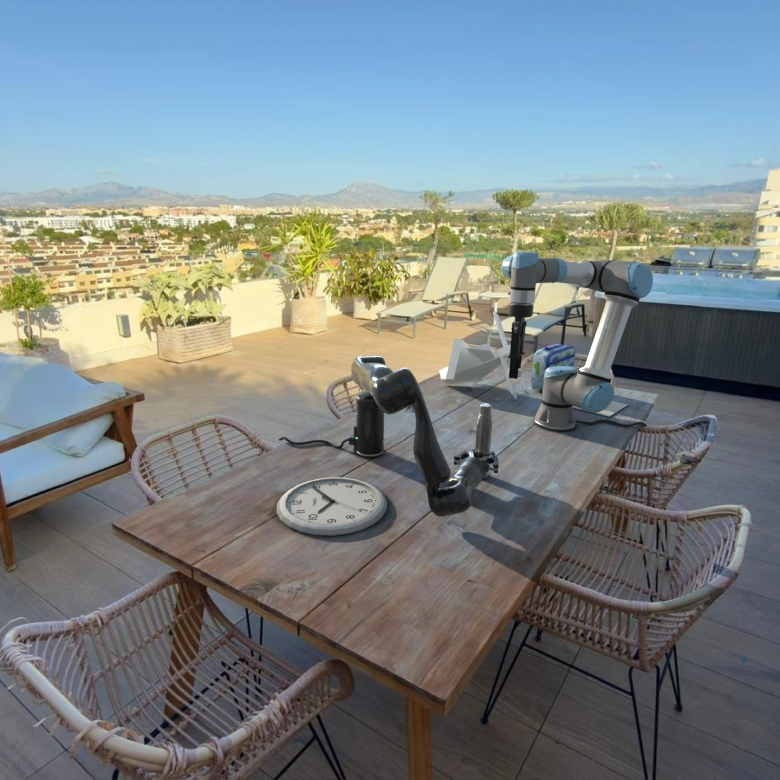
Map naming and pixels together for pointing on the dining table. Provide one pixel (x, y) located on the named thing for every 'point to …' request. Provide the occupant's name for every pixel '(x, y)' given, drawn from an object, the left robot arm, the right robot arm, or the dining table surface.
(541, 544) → the dining table surface
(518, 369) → the cap
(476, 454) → the bottle
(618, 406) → the invitation card
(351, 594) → the dining table surface
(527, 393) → the white plastic object
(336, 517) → the wall clock
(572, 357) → the lunch box
